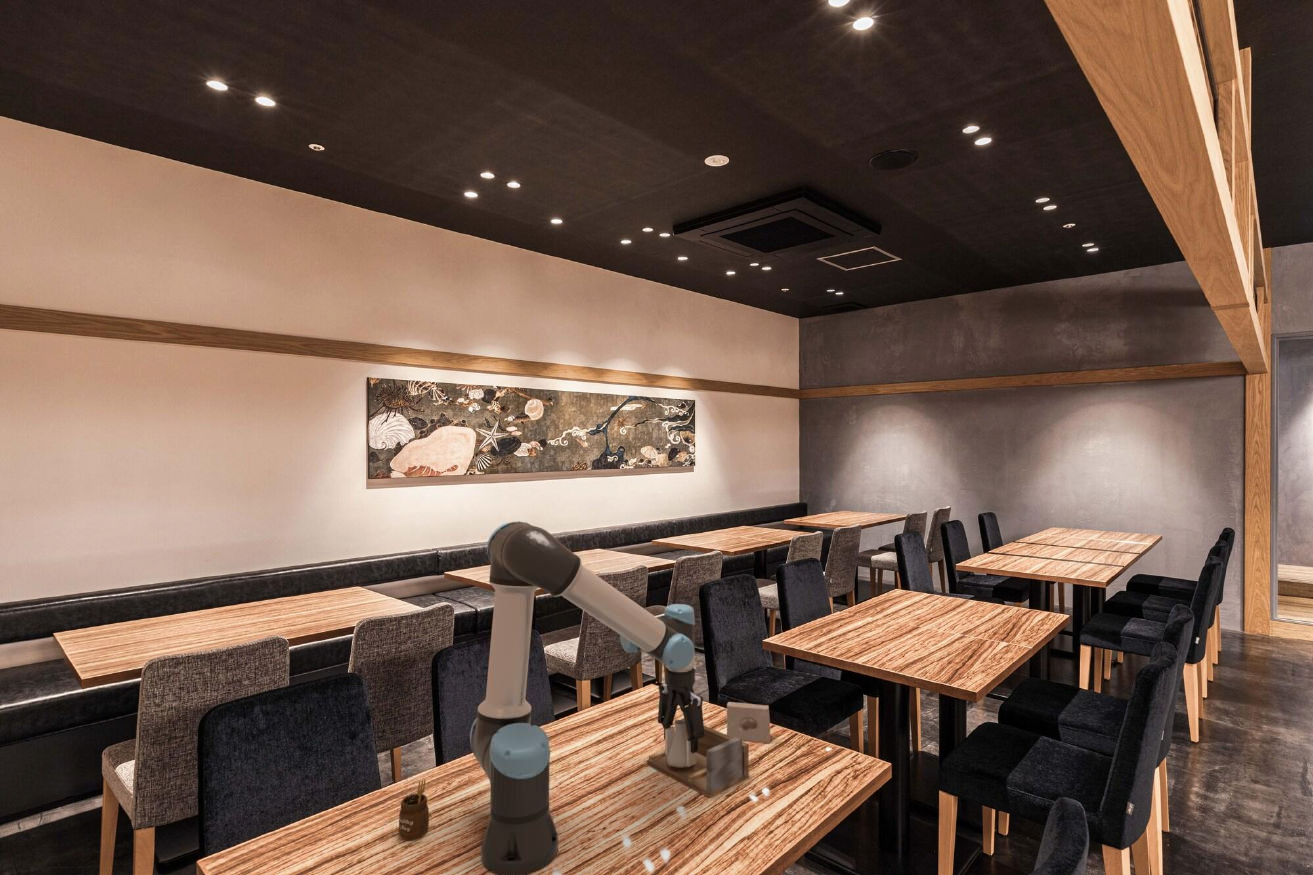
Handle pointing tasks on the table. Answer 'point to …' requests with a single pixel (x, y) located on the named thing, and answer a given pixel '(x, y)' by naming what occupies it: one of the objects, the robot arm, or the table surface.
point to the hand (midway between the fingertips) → (680, 758)
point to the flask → (678, 746)
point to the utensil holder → (414, 814)
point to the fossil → (748, 722)
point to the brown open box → (709, 764)
